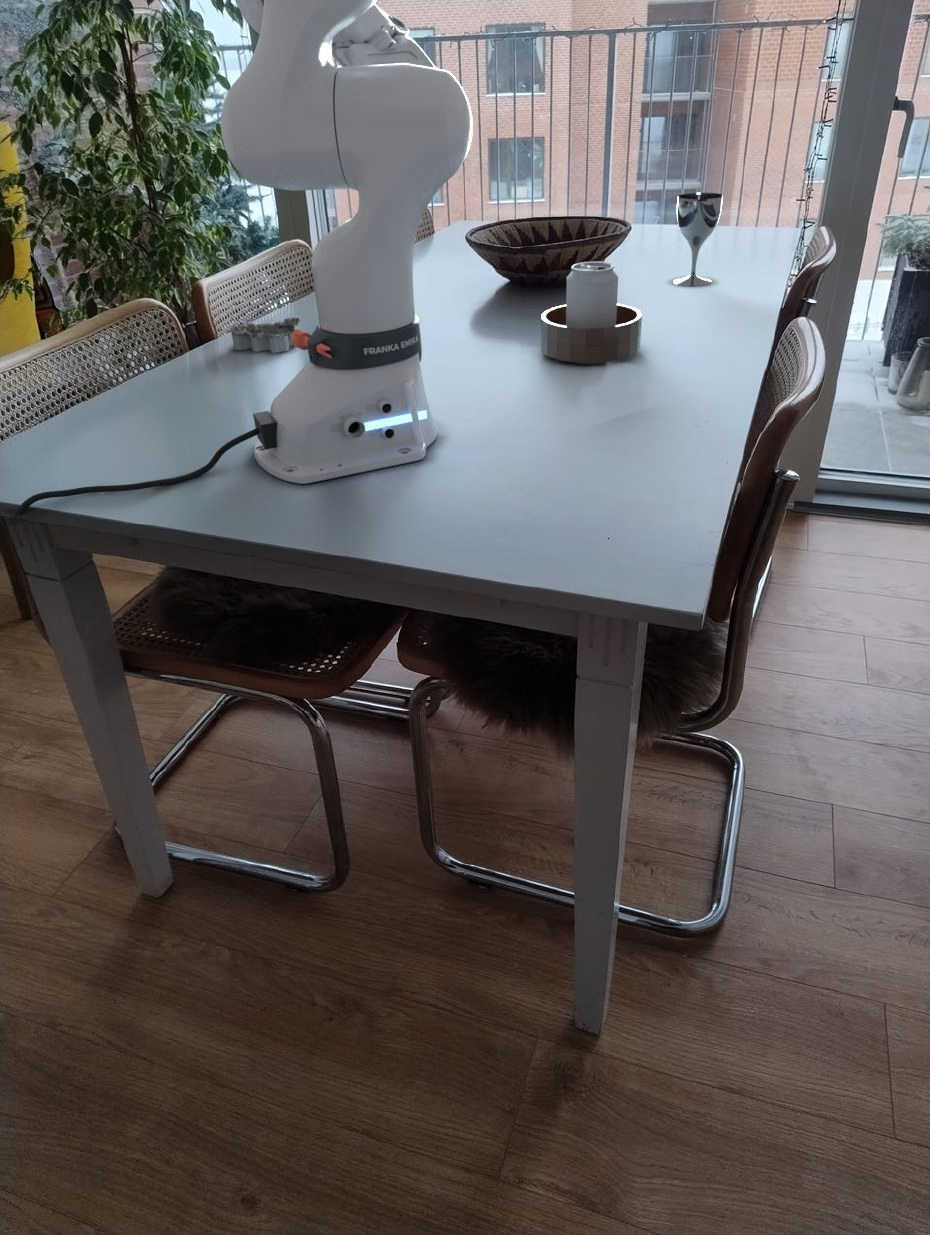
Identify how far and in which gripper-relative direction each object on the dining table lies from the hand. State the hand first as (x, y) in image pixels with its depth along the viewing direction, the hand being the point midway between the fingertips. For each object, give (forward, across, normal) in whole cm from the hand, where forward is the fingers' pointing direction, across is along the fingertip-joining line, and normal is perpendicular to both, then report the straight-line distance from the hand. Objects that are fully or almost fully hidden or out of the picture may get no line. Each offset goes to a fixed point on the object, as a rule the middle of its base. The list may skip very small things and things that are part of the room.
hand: (431, 120), depth 124 cm
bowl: (+39, 0, +5) cm, 40 cm away
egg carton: (+2, -9, +42) cm, 43 cm away
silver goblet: (+44, +47, 0) cm, 65 cm away
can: (+39, 0, +5) cm, 39 cm away
